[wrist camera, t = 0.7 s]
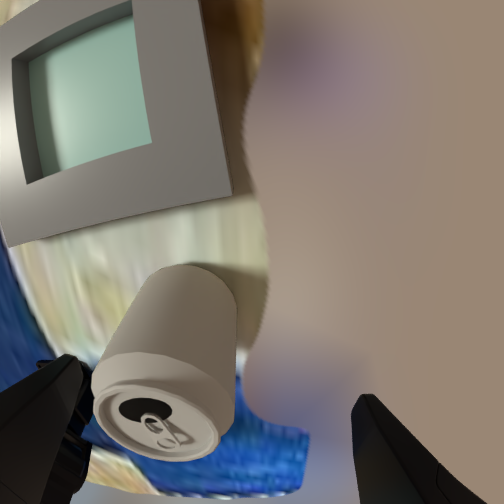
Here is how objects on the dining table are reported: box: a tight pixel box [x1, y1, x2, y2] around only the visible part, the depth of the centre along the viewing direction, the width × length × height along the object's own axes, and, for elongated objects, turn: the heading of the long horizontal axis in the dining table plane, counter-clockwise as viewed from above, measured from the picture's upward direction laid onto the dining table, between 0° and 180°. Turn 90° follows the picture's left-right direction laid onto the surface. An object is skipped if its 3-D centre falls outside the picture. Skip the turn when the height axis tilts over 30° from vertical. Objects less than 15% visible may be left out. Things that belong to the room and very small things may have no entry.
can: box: [91, 265, 237, 461], centre depth 17 cm, size 8×8×12 cm
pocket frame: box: [0, 0, 234, 248], centre depth 16 cm, size 18×18×2 cm
